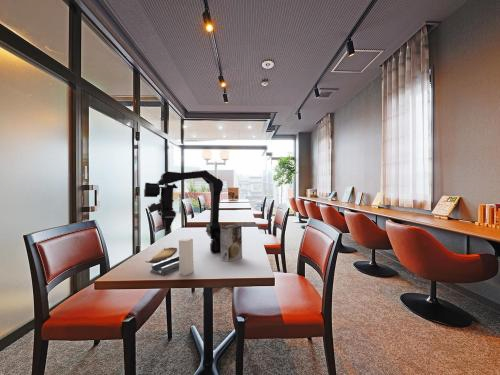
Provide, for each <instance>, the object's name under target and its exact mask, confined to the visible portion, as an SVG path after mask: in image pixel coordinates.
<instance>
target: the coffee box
mask: <svg viewBox="0 0 500 375" xmlns="http://www.w3.org/2000/svg"><path fill="white" fill-rule="evenodd" d="M242 236H243V232H242V225H239V224H228V225H223V226H220V239H221V253H220V259H221V260H223V261H226V262H228V263H229V262H232V261H235V260H238V259H241V258H243V244H242V243H243V237H242Z"/></svg>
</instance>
